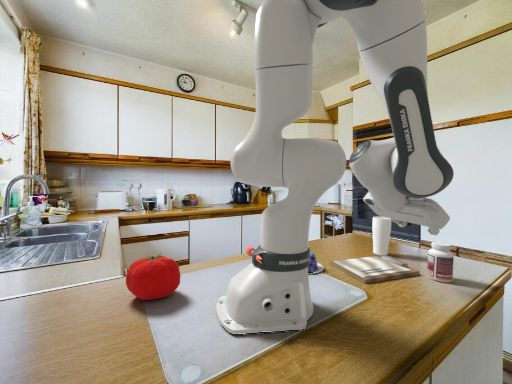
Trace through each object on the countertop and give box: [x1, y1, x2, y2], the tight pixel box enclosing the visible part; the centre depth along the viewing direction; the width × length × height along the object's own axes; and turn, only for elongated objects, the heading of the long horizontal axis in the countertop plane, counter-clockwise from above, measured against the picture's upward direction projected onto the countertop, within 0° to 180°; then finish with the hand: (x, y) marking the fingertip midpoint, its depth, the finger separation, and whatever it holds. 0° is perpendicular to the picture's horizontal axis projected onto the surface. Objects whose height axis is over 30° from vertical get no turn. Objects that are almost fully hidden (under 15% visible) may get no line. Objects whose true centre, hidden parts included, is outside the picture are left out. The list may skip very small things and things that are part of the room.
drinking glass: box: [371, 215, 392, 256], centre depth 95 cm, size 7×7×15 cm
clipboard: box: [329, 255, 421, 284], centre depth 79 cm, size 22×16×2 cm
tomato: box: [125, 252, 181, 301], centre depth 59 cm, size 11×13×10 cm
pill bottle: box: [426, 241, 455, 284], centre depth 72 cm, size 6×6×11 cm
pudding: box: [308, 251, 325, 274], centre depth 80 cm, size 12×12×5 cm
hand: (418, 229), depth 66 cm, fingers open, 8 cm apart
